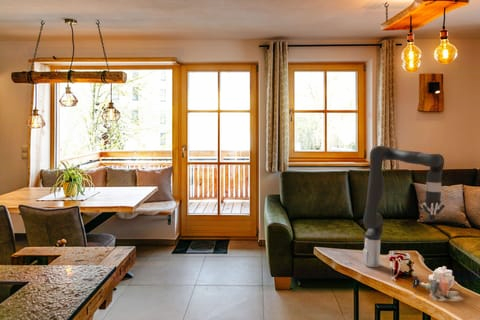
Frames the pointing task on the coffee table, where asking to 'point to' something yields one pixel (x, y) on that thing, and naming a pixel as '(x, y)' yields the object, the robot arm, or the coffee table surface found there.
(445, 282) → the carriage
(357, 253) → the coffee table surface
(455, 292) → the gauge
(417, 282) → the valve
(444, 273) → the mechanical part
